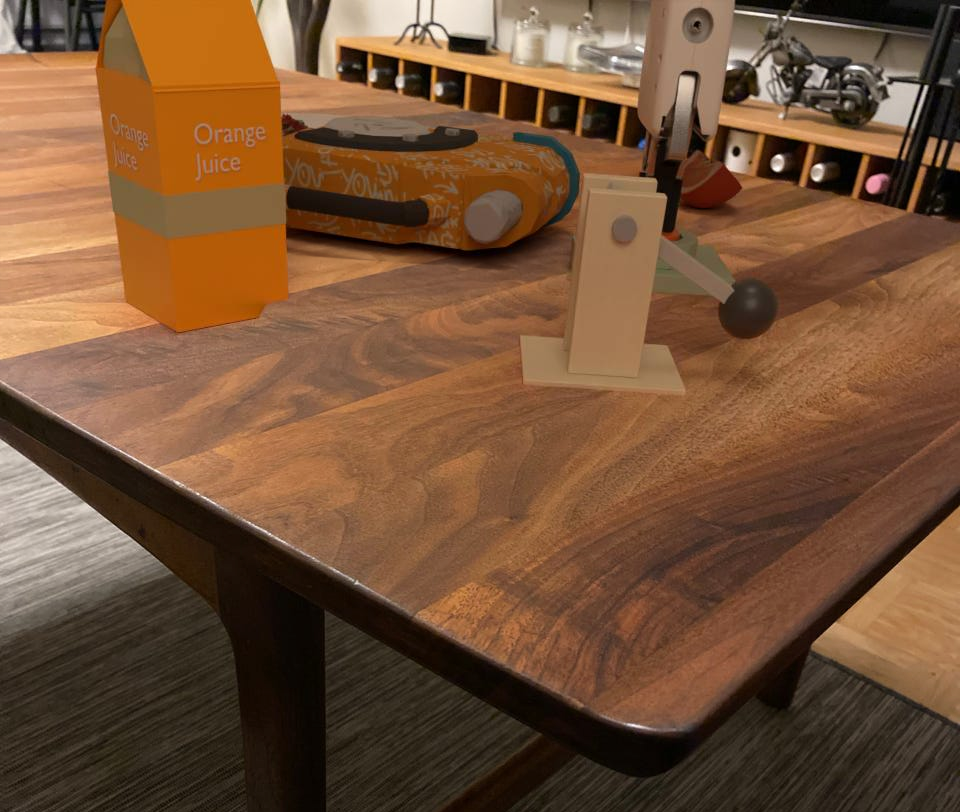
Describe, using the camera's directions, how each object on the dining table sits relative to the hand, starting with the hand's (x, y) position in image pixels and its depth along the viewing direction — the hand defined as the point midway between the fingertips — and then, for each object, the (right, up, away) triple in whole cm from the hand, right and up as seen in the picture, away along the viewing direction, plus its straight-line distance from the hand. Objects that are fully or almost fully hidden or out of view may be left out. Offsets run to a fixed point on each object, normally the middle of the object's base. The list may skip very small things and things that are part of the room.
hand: (652, 228), depth 82 cm
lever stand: (-6, -16, -16) cm, 23 cm away
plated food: (-32, +23, +36) cm, 53 cm away
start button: (0, -2, +1) cm, 2 cm away
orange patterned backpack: (-22, +3, +10) cm, 24 cm away
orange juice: (-33, -9, -9) cm, 36 cm away
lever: (-2, -11, -19) cm, 22 cm away
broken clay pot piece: (+10, +13, +27) cm, 32 cm away
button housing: (0, -4, +3) cm, 4 cm away
